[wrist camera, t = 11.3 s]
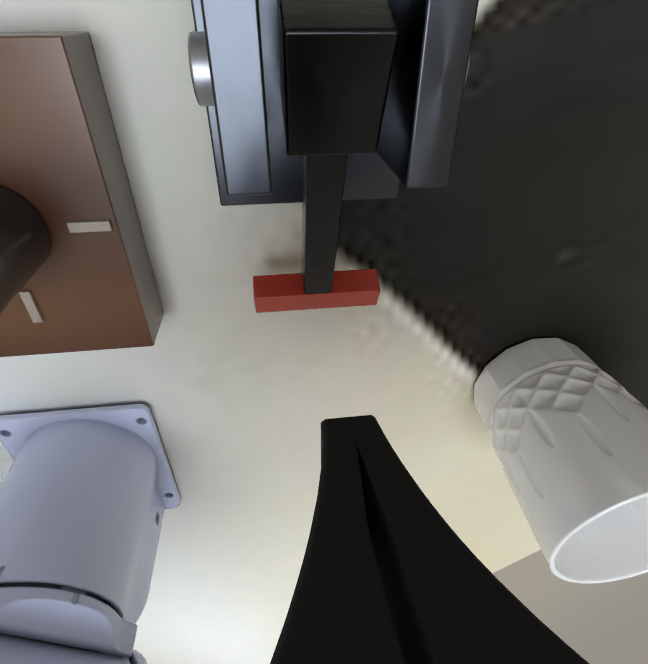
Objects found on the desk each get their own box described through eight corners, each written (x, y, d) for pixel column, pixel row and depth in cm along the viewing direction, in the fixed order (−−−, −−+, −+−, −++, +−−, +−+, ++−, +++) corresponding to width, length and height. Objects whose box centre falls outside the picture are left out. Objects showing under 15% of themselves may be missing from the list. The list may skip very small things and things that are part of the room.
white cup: (500, 318, 23) (627, 479, 15) (618, 337, 25) (785, 488, 17) (442, 419, 28) (517, 585, 20) (546, 428, 29) (652, 583, 22)
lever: (369, 271, 19) (379, 318, 18) (254, 278, 19) (256, 327, 17) (443, -32, 9) (473, 29, 8) (206, -34, 9) (204, 31, 8)
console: (164, 313, 21) (153, 348, 18) (-17, 325, 20) (-50, 363, 18) (89, 31, 14) (58, 35, 12) (-185, 33, 13) (-270, 37, 11)
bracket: (391, 188, 18) (466, 290, 12) (222, 195, 18) (201, 307, 11) (423, -164, 12) (615, -364, 6) (170, -173, 12) (55, -412, 5)
